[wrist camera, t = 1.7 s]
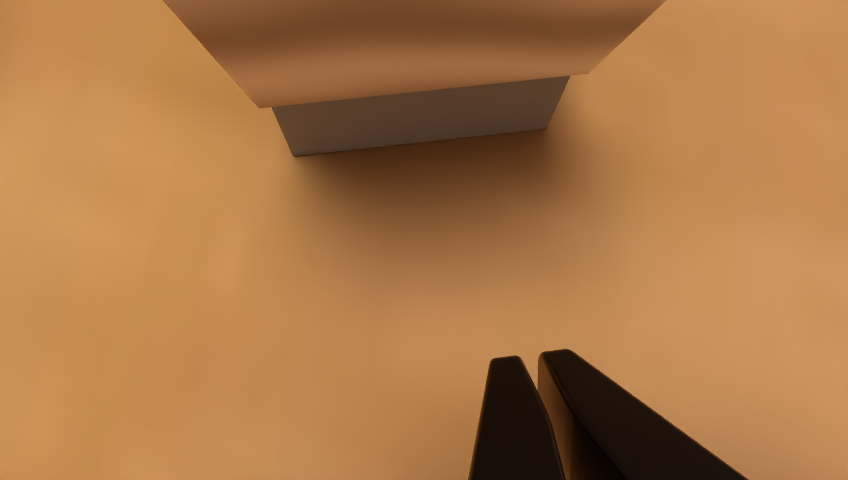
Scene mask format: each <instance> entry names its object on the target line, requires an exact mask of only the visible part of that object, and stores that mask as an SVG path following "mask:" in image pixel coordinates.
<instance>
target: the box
mask: <svg viewBox="0 0 848 480" xmlns="http://www.w3.org/2000/svg"><path fill="white" fill-rule="evenodd" d="M569 77H570V76H561V77H552V78H542V79H533V80H523V81H514V82H504V83H495V84H485V85H476V86H466V87H457V88H447V89H438V90H428V91H419V92H409V93H400V94H390V95H381V96H371V97H362V98H352V99H343V100H333V101H324V102H314V103H305V104H295V105H286V106H276V107H272V109H273V112H274V114H275V116H276V118H277V121H278V123H279V125H280V128H281V130H282V132H283V134H284V137H285V139H286V141H287V143H288V146H289V148H290V150H291V152H292V155H293V156H303V155H312V154H321V153H330V152H339V151H348V150H357V149H366V148H375V147H385V146H394V145H403V144H412V143H421V142H430V141H439V140H448V139H457V138H467V137H476V136H485V135H494V134H503V133H512V132H521V131H530V130H539V129H546V128H547V126H548V124H549V121H550V119H551V117H552V115H553V113H554V110H555V108H556V106H557V104H558V102H559V99H560V97H561V95H562V93H563V91H564V88H565V86H566V84H567V82H568V80H569Z"/></svg>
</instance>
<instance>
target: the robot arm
mask: <svg viewBox="0 0 848 480" xmlns="http://www.w3.org/2000/svg"><path fill="white" fill-rule="evenodd" d="M468 480H748V479H747V478H746V477H744V476H743V475H741V474H740V473H739V472H737V471H736V470H735V469H733V468H732V467H730V466H729V465H728V464H726V463H725V462H724V461H722V460H721V459H720V458H718V457H717V456H715V455H714V454H713V453H711V452H710V451H709V450H707V449H706V448H704V447H703V446H702V445H700V444H699V443H698V442H696V441H695V440H694V439H692V438H691V437H689V436H688V435H687V434H685V433H684V432H683V431H681V430H680V429H678V428H677V427H676V426H674V425H673V424H672V423H670V422H669V421H667V420H666V419H665V418H663V417H662V416H661V415H659V414H658V413H657V412H655V411H654V410H652V409H651V408H650V407H648V406H647V405H646V404H644V403H643V402H641V401H640V400H639V399H637V398H636V397H635V396H633V395H632V394H631V393H629V392H628V391H626V390H625V389H624V388H622V387H621V386H620V385H618V384H617V383H615V382H614V381H613V380H611V379H610V378H609V377H607V376H606V375H605V374H603V373H602V372H600V371H599V370H598V369H596V368H595V367H594V366H592V365H591V364H589V363H588V362H587V361H585V360H584V359H583V358H581V357H580V356H578V355H577V354H576V353H574V352H573V351H571V350H569V349H561V350H554V351H546V352H542V353H541V354H540V356H539V359H538V391H537V389H536V387H535V385H534V383H533V381H532V379H531V377H530V375H529V373H528V371H527V369H526V367H525V365H524V362H523V361H522V359H521V358H520V357H518V356H508V357H500V358H494V359H492V360H491V361H490V364H489V370H488V375H487V381H486V386H485V391H484V397H483V402H482V408H481V413H480V418H479V424H478V429H477V435H476V440H475V445H474V451H473V456H472V462H471V467H470V473H469V478H468Z"/></svg>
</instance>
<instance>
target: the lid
mask: <svg viewBox="0 0 848 480" xmlns="http://www.w3.org/2000/svg"><path fill="white" fill-rule="evenodd" d="M163 1H164V2H165V3H166V4H167V6H168V7H169V8H170V9H171V10H172V11H173V12H174V13H175V14H176V16H177V17H178V18H179V19H180V20H181V21H182V22H183V23H184V25H185V26H186V27H187V28H188V29H189V30H190V31H191V32H192V34H193V35H194V36H195V37H196V38H197V39H198V40H199V41H200V43H201V44H202V45H203V46H204V47H205V48H206V49H207V50H208V52H209V53H210V54H211V55H212V56H213V57H214V58H215V59H216V61H217V62H218V63H219V64H220V65H221V66H222V67H223V68H224V70H225V71H226V72H227V73H228V74H229V75H230V76H231V77H232V78H233V80H234V81H235V82H236V83H237V84H238V85H239V86H240V87H241V89H242V90H243V91H244V92H245V93H246V94H247V95H248V96H249V98H250V99H251V100H252V101H253V102H254V103H255V104H256V105H257V107H258V108H267V107H276V106H286V105H295V104H305V103H314V102H324V101H333V100H343V99H352V98H362V97H371V96H381V95H390V94H400V93H409V92H419V91H428V90H438V89H447V88H457V87H466V86H476V85H485V84H495V83H504V82H514V81H523V80H533V79H542V78H552V77H561V76H571V75H580V74H588V73H589V72H590V71H591V70H592V69H593V68H595V67H596V66H597V65H598V64H599V63H600V62H601V61H602V60H603V59H604V58H605V57H606V56H607V55H608V54H610V53H611V52H612V51H613V50H614V49H615V48H616V47H617V46H618V45H619V44H620V43H621V42H622V41H623V40H624V39H626V38H627V37H628V36H629V35H630V34H631V33H632V32H633V31H634V30H635V29H636V28H637V27H638V26H639V25H640V24H642V23H643V22H644V21H645V20H646V19H647V18H648V17H649V16H650V15H651V14H652V13H653V12H654V11H655V10H657V9H658V8H659V7H660V6H661V5H662V4H663V3H664V2H665V1H666V0H163Z"/></svg>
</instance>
